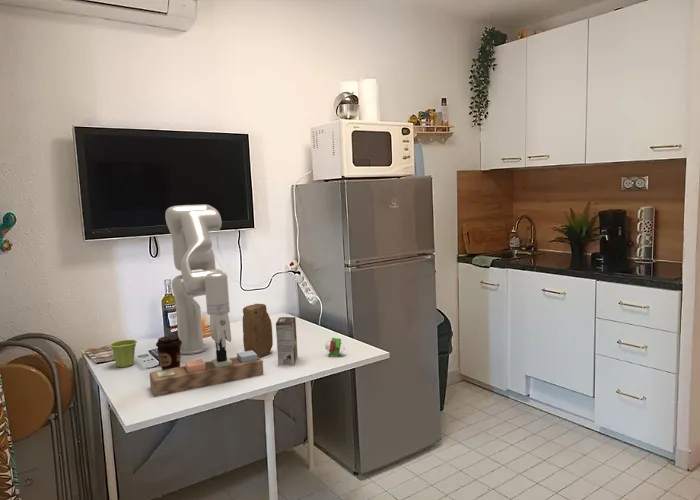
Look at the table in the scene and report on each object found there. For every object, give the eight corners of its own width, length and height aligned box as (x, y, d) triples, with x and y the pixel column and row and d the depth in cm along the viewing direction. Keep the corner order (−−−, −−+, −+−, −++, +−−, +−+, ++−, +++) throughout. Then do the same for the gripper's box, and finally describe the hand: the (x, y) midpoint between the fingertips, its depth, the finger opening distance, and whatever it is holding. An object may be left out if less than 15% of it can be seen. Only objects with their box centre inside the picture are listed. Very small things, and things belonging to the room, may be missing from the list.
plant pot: (112, 363, 203) (110, 341, 202) (138, 359, 206) (136, 338, 205) (111, 370, 194) (109, 348, 193) (138, 366, 198) (137, 344, 197)
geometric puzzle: (336, 344, 209) (328, 332, 204) (350, 347, 205) (342, 334, 200) (327, 359, 205) (319, 346, 200) (342, 362, 201) (333, 349, 196)
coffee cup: (168, 378, 183) (165, 342, 182) (153, 375, 188) (150, 339, 186) (188, 371, 191) (185, 336, 189) (172, 367, 195) (170, 333, 193)
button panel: (154, 396, 167) (153, 380, 167) (150, 386, 176) (149, 371, 175) (263, 374, 184) (262, 360, 183) (254, 366, 192) (253, 352, 192)
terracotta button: (188, 378, 174) (188, 366, 174) (185, 373, 179) (184, 362, 178) (206, 375, 177) (205, 363, 176) (202, 370, 181) (201, 359, 181)
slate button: (242, 368, 182) (241, 357, 182) (237, 363, 187) (237, 352, 187) (257, 365, 185) (257, 354, 184) (252, 361, 190) (252, 350, 189)
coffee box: (281, 358, 202) (279, 316, 200) (298, 357, 201) (296, 316, 200) (277, 366, 192) (275, 323, 191) (294, 365, 192) (292, 322, 190)
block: (254, 359, 201) (251, 308, 198) (242, 356, 205) (239, 306, 203) (276, 352, 209) (273, 303, 207) (263, 349, 214) (260, 301, 211)
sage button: (216, 375, 178) (215, 364, 178) (212, 371, 183) (211, 359, 183) (232, 372, 181) (231, 361, 180) (228, 368, 186) (227, 357, 185)
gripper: (234, 310, 174) (238, 364, 176) (223, 303, 188) (227, 353, 190) (212, 314, 171) (216, 368, 173) (202, 306, 184) (206, 357, 186)
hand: (221, 360), depth 181 cm, fingers closed
